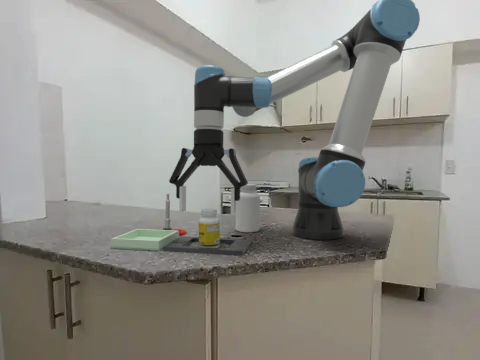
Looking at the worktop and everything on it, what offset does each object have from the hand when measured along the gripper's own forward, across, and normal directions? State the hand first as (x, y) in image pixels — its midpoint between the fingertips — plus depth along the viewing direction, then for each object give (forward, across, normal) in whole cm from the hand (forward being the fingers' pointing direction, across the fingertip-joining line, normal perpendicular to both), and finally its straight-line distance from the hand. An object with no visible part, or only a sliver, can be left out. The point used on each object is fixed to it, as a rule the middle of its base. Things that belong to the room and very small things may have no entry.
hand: (207, 212), depth 82 cm
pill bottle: (+9, -7, -23) cm, 26 cm away
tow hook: (+10, +15, -13) cm, 22 cm away
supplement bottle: (+9, -1, 0) cm, 9 cm away
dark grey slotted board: (+9, -1, 0) cm, 9 cm away
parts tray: (+9, +17, 0) cm, 19 cm away
